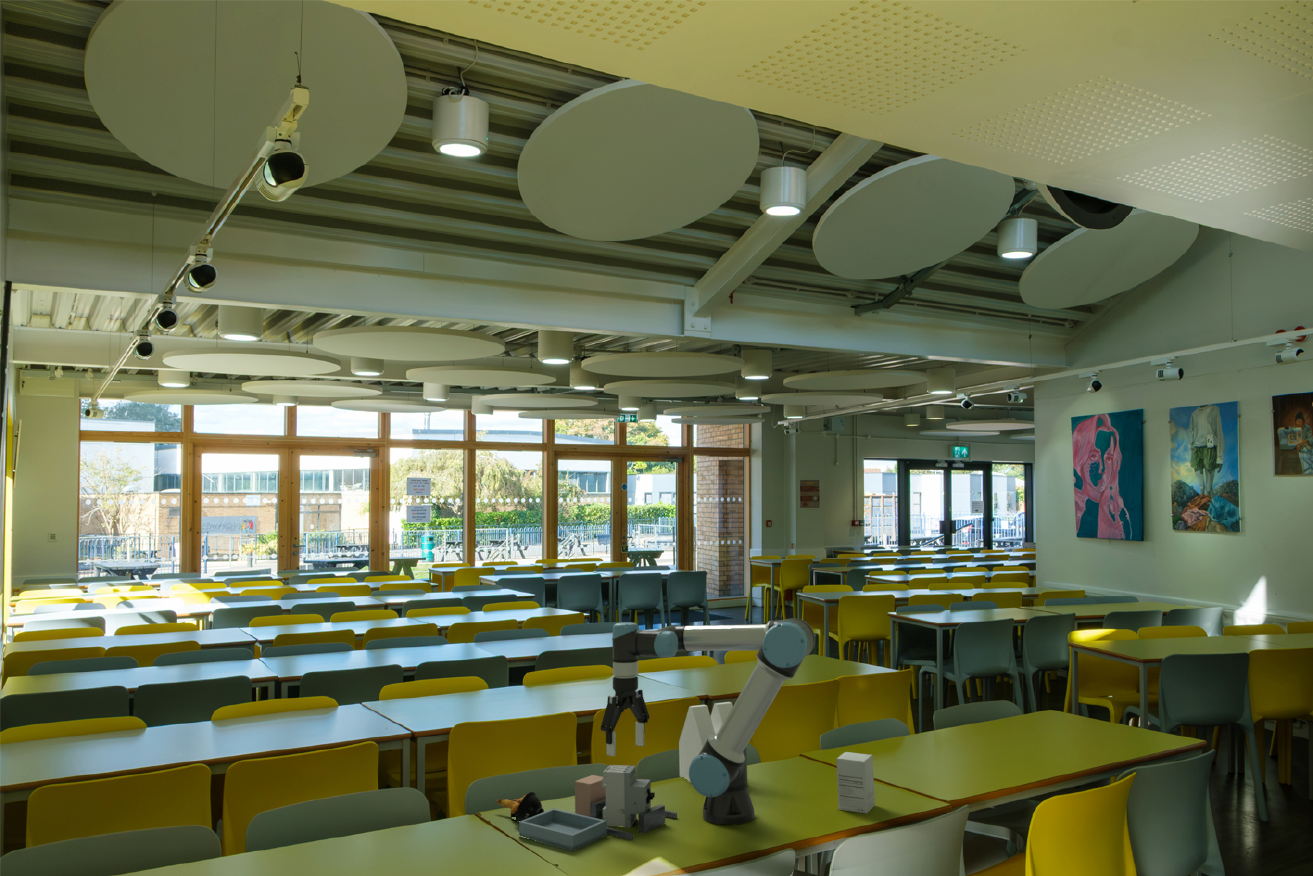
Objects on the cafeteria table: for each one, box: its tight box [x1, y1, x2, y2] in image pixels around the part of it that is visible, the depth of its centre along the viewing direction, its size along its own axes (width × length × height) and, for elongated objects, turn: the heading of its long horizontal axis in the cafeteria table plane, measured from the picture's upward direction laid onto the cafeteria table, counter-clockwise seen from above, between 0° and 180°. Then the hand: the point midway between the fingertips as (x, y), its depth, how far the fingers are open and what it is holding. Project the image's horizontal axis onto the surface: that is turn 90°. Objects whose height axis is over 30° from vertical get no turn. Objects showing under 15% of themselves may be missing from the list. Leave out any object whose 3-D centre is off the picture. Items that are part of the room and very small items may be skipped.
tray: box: [518, 808, 608, 852], centre depth 235 cm, size 20×14×4 cm
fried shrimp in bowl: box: [495, 791, 545, 823], centre depth 250 cm, size 9×11×18 cm
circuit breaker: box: [602, 764, 656, 828], centre depth 246 cm, size 8×14×15 cm, turn 78°
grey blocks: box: [591, 797, 678, 841], centre depth 246 cm, size 20×22×5 cm
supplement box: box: [836, 751, 876, 814], centre depth 256 cm, size 9×9×15 cm
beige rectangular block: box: [574, 774, 606, 817], centre depth 254 cm, size 6×8×10 cm
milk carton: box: [678, 701, 734, 782], centre depth 287 cm, size 19×15×25 cm
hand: (625, 750), depth 248 cm, fingers open, 13 cm apart
